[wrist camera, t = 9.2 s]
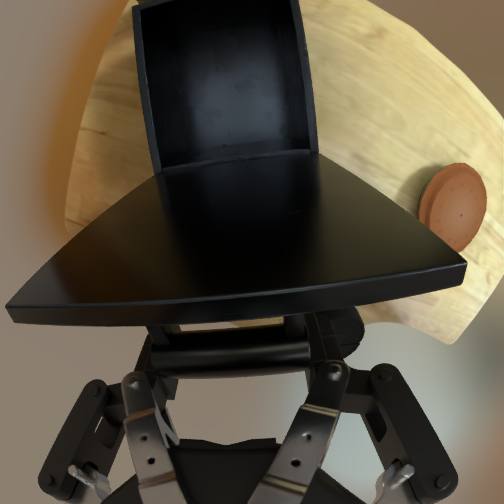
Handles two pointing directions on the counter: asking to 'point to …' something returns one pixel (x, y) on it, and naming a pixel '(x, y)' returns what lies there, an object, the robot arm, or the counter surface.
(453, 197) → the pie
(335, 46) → the counter surface
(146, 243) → the lid
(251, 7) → the black open box
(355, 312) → the travel mug
